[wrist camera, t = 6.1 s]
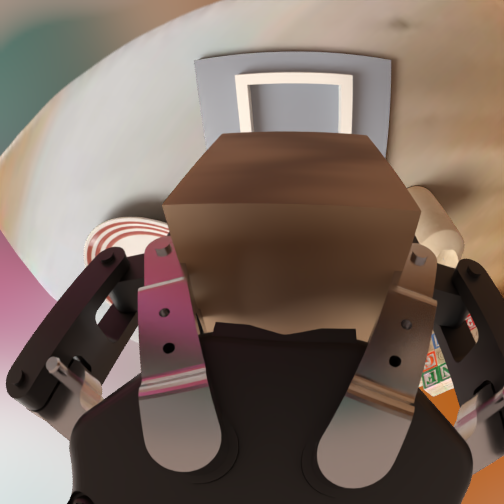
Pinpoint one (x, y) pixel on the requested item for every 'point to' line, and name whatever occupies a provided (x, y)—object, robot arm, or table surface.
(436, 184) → the table surface
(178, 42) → the table surface
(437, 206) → the candle
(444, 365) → the stack of blocks
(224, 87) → the baseplate
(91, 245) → the dinner plate
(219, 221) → the walnut block
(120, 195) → the table surface
